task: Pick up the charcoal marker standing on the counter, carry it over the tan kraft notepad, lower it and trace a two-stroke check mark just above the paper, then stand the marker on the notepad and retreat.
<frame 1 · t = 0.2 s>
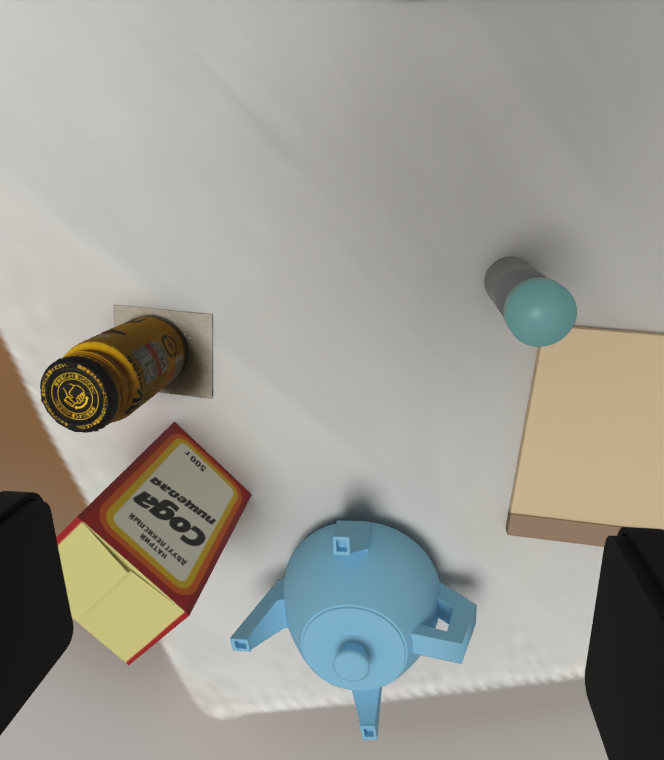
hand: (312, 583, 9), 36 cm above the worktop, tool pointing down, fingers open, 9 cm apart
baking soda box: (191, 479, 52), on the worktop
marker: (508, 280, 42), on the worktop
condiment: (165, 351, 48), on the worktop
teapot: (361, 574, 53), on the worktop
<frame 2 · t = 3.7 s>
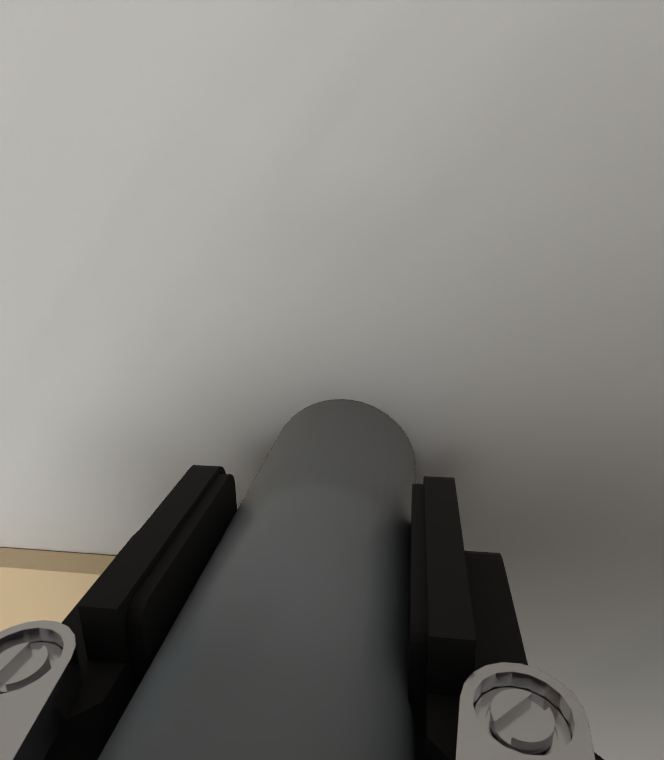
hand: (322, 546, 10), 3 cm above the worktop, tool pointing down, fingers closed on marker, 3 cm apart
marker: (343, 466, 14), on the worktop, touching gripper
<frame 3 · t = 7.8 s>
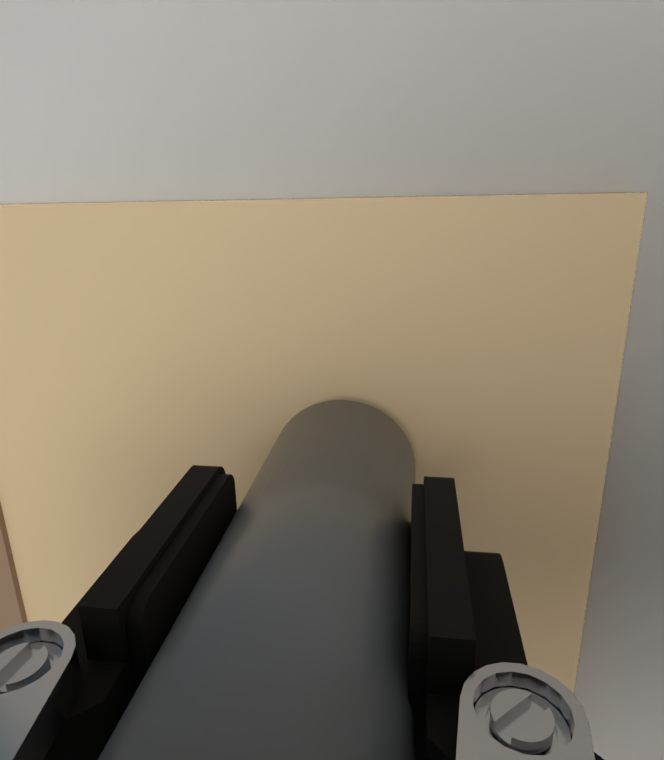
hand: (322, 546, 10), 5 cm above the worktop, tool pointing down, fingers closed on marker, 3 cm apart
marker: (343, 466, 14), point 1 cm above the worktop, touching gripper
notepad: (256, 617, 17), on the worktop
when the fingers open (5 cm above the worktop, at t = 12.0 s): marker stays where it is, resting on notepad.
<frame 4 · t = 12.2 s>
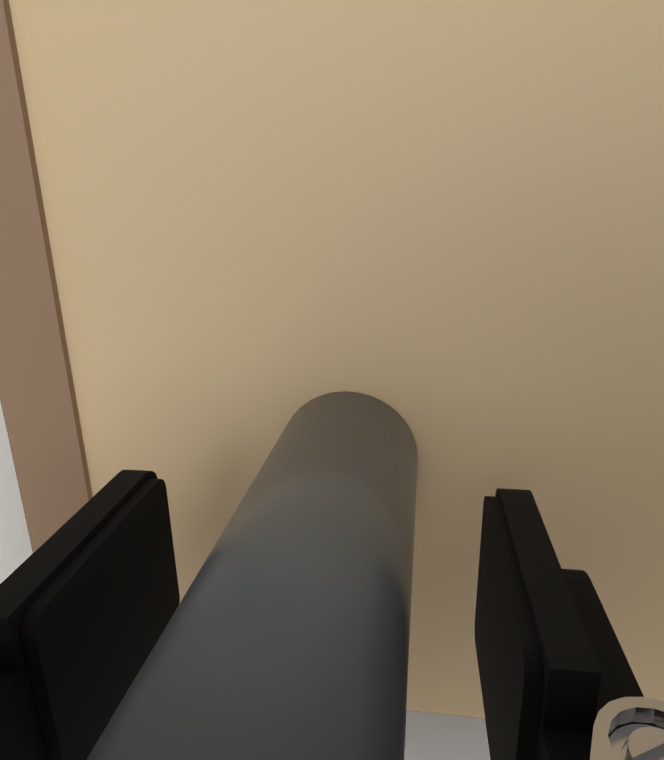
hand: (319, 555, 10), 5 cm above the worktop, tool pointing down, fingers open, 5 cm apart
marker: (348, 456, 14), point 1 cm above the worktop, touching notepad
notepad: (347, 289, 14), on the worktop
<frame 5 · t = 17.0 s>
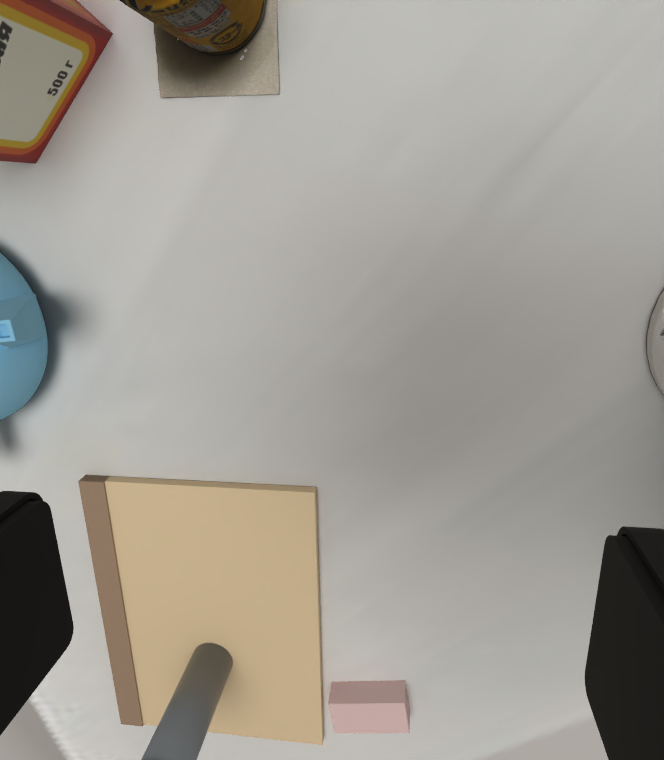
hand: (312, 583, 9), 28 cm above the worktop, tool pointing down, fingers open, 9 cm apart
eraser: (371, 692, 47), on the worktop
baking soda box: (32, 64, 35), on the worktop
marker: (212, 659, 47), point 1 cm above the worktop, touching notepad
condiment: (216, 15, 33), on the worktop
notepad: (211, 612, 46), on the worktop
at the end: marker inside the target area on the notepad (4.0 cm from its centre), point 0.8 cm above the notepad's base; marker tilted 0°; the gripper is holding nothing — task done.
